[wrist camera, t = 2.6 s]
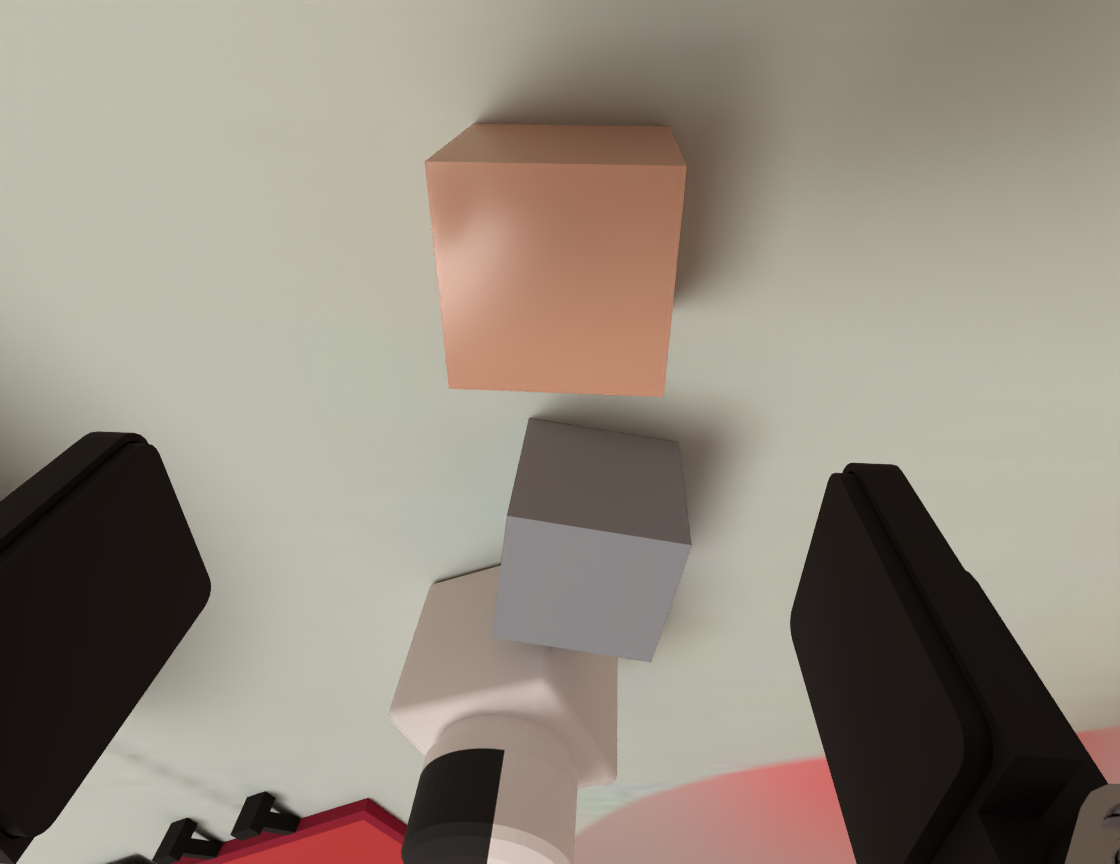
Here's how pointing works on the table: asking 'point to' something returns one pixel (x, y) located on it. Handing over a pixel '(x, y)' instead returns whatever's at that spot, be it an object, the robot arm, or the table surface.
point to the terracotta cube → (557, 256)
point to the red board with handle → (292, 837)
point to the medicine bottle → (499, 733)
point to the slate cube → (592, 541)
